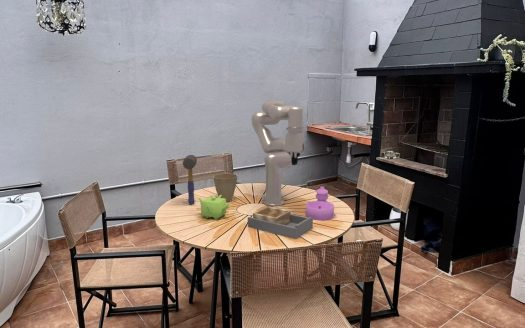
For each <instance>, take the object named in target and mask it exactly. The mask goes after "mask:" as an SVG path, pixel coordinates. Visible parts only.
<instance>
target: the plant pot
mask: <svg viewBox="0 0 525 328" xmlns="http://www.w3.org/2000/svg"><path fill="white" fill-rule="evenodd" d="M212 177H213V183H214V187H215V191H216V194H217V198H218V197H219V196H220V195H222V196H221V198H224V199H226V203H229V202H232V200H233V197H234V194H235V191H236V187H237V182H238V174H235V173H231V172H229V173H228V172H223V173H222V172H221V173H217V174H214V175H213V176H212Z"/></svg>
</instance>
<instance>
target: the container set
mask: <svg viewBox="0 0 525 328" xmlns="http://www.w3.org/2000/svg"><path fill="white" fill-rule="evenodd" d="M315 193H316V194H315V198H316V200H314V201H308V202H306V204H305V217H308V218H309V217H312V219H313V221H323V222H324V221H329V220H332V219H334V213H335V204H334V203H331V202H330V201H329V202H328V198H329V195H328V194H329V191H328V189H325V186H320V188H318V189H316V192H315Z"/></svg>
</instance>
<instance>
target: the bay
mask: <svg viewBox="0 0 525 328" xmlns="http://www.w3.org/2000/svg"><path fill="white" fill-rule="evenodd" d="M313 224H314V220H313V219H312V217H309V218H308V217H306V216H302V215H296V214H293V213H291V218H290V222H289V223H288V224H286V225H282V224H278V223H273V222H269V221H265V220H261V219H256V218H253V216H252V217H251V216H247V227H248V228H252V229H255V230H258V231H263V232H266V233H271V234H273V235H274V234H276V235H279V236H282V237H287V238H290V239H295V240H297V239H298V238H300V237H302V236H303V235H304V234H306V233H307V232H309V231H310V230H312V229H313V228H314V225H313Z"/></svg>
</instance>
